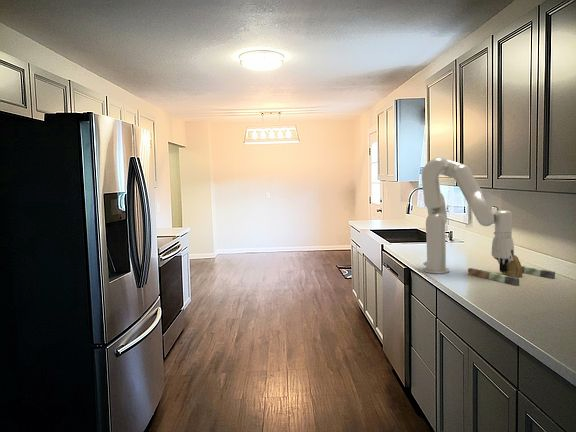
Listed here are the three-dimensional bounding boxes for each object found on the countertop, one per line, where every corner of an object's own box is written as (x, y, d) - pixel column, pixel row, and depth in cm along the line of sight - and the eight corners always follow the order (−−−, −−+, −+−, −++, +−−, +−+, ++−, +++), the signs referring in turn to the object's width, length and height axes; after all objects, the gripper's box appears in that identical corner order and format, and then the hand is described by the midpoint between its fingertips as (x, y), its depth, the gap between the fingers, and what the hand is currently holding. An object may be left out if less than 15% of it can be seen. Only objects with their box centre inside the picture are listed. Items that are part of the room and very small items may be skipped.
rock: (529, 273, 213) (525, 266, 222) (517, 259, 213) (514, 253, 222) (509, 285, 217) (506, 278, 226) (497, 271, 217) (495, 265, 227)
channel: (468, 274, 226) (468, 268, 225) (504, 268, 236) (504, 262, 236) (516, 285, 200) (516, 279, 200) (554, 278, 210) (555, 271, 210)
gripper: (485, 234, 225) (485, 269, 227) (510, 237, 212) (510, 275, 213) (496, 233, 228) (496, 268, 230) (521, 236, 215) (521, 273, 216)
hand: (503, 271), depth 222 cm, fingers closed
